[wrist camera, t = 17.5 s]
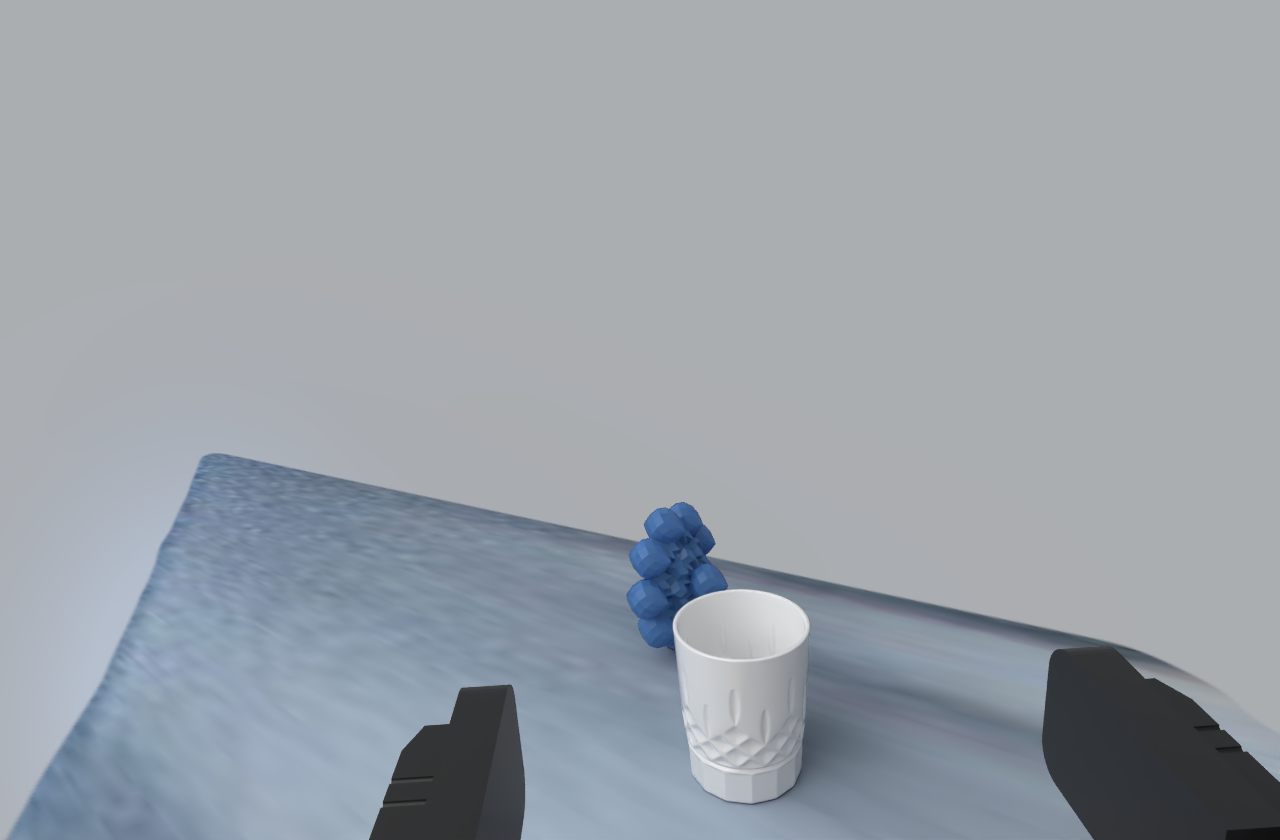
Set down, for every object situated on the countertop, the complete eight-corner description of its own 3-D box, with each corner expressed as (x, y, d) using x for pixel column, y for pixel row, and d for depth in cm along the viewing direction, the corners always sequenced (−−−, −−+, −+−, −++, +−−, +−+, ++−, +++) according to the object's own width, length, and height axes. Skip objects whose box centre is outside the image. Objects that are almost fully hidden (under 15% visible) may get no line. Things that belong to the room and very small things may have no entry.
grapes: (697, 703, 58) (690, 544, 54) (613, 680, 61) (600, 529, 58) (758, 619, 68) (754, 480, 64) (681, 604, 71) (674, 470, 67)
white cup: (833, 753, 52) (833, 611, 49) (768, 833, 47) (765, 677, 44) (726, 709, 57) (721, 577, 54) (655, 777, 51) (645, 633, 48)
